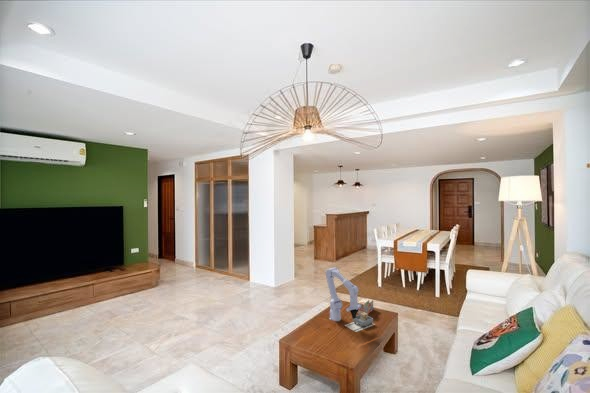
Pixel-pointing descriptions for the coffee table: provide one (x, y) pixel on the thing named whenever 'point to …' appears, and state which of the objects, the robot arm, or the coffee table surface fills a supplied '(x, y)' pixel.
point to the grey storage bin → (363, 321)
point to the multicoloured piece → (365, 306)
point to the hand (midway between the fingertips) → (353, 318)
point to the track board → (358, 326)
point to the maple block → (363, 316)
